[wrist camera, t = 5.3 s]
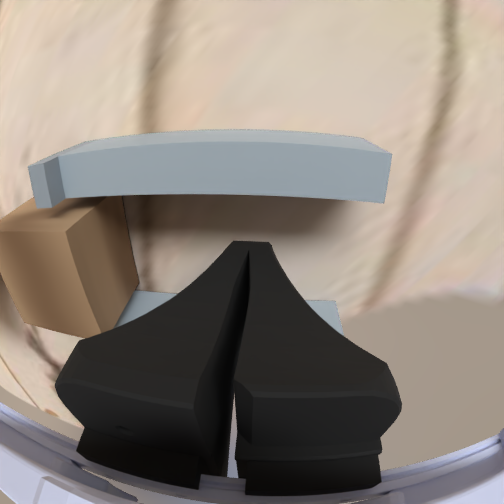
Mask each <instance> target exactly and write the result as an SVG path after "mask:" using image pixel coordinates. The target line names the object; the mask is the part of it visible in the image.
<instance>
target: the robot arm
mask: <svg viewBox="0 0 504 504" xmlns="http://www.w3.org/2000/svg"><path fill="white" fill-rule="evenodd" d="M55 388H56V391H57V394H58V397H59V398H60V399H61V401H62V402H63V404H64V405H65V406H66V407H67V408H68V409H69V411H70V412H71V413H72V414H73V415H74V416H75V417H76V418H77V419H78V420H79V422H80V423H81V424H82V425H83V426H84V427H85V428H84V431H83V434H82V436H81V439H80V441H76V440H74V439H71V438H69V437H67V436H65V435H62V434H60V433H57V432H55V431H53V430H51V429H49V428H47V427H45V426H43V425H41V424H39V423H37V422H35V421H33V420H31V419H29V418H27V417H25V416H24V415H22V414H20V413H18V412H17V411H14V410H13V409H11V408H10V407H8V406H6V405H4V404H3V403H1V402H0V490H2V491H3V492H4V493H5V494H6V495H7V496H8V497H9V498H11V499H12V500H13V501H14V502H15V503H16V504H142V503H138V502H137V501H138V499H137V498H136V497H134V496H132V495H130V494H128V493H126V492H123V491H122V490H120V489H118V488H116V487H114V486H113V485H112V484H110V483H109V482H108V481H106V480H104V479H102V478H100V477H97V476H95V475H93V474H91V473H89V472H87V471H85V470H83V469H86V470H88V471H91V472H93V473H96V474H98V475H102V476H104V477H107V478H109V479H113V480H115V481H118V482H121V483H124V484H128V485H131V486H134V487H138V488H141V489H145V490H149V491H153V492H157V493H161V494H166V495H170V496H174V497H179V498H184V499H190V500H196V501H202V502H210V503H217V504H339V503H347V502H354V501H360V500H364V501H360V502H355V503H351V504H504V428H503V429H502V430H501V431H500V433H499V434H497V435H494V436H492V437H490V438H488V439H485V440H483V441H481V442H478V443H476V444H473V445H471V446H468V447H466V448H463V449H460V450H458V451H455V452H452V453H449V454H446V455H443V456H440V457H436V458H433V459H430V460H426V461H422V462H419V463H415V464H411V465H407V466H403V467H398V468H394V469H389V470H384V471H380V465H379V459H378V455H379V454H380V453H382V445H381V440H380V437H381V436H382V435H383V434H384V433H385V432H386V431H387V429H388V428H389V427H390V426H391V425H392V424H393V423H394V421H395V420H396V419H397V417H398V415H399V414H400V412H401V408H402V402H401V399H400V395H399V392H398V388H397V386H396V383H395V380H394V378H393V376H392V374H391V372H390V370H389V368H388V365H387V363H385V362H384V361H382V360H380V359H379V358H377V357H375V356H374V355H372V354H370V353H368V352H367V351H365V350H363V349H362V348H360V347H358V346H357V345H355V344H354V343H353V342H351V341H350V340H348V339H347V338H345V337H344V336H343V335H342V334H340V333H339V332H338V331H336V330H335V329H334V328H333V327H332V326H330V325H329V324H328V323H327V322H326V321H325V320H324V319H322V318H321V317H320V316H319V315H318V314H317V313H316V312H315V311H314V310H313V309H312V308H311V307H310V306H309V304H308V303H307V302H306V301H305V300H304V299H303V298H302V296H301V295H300V294H299V293H298V291H297V290H296V289H295V287H294V286H293V284H292V283H291V282H290V280H289V279H288V277H287V276H286V274H285V272H284V271H283V269H282V267H281V266H280V264H279V262H278V260H277V258H276V256H275V254H274V251H273V248H272V245H271V244H270V243H269V242H253V241H233V242H232V243H231V244H230V245H229V246H228V247H227V248H226V249H225V251H224V252H223V253H222V254H221V255H220V256H219V257H218V258H217V259H216V260H215V261H214V262H213V263H212V264H211V266H210V267H209V268H208V269H207V270H206V271H205V272H203V273H202V274H201V275H200V276H199V277H198V278H197V279H196V280H195V281H193V282H192V283H191V284H190V285H189V286H188V287H186V288H185V289H184V290H182V291H181V292H180V293H178V294H177V295H175V296H174V297H173V298H171V299H170V300H168V301H166V302H165V303H163V304H161V305H160V306H158V307H156V308H154V309H153V310H151V311H149V312H148V313H146V314H144V315H142V316H140V317H138V318H136V319H134V320H132V321H130V322H128V323H125V324H123V325H121V326H119V327H116V328H114V329H111V330H108V331H106V332H103V333H100V334H97V335H94V336H92V337H89V338H86V339H82V340H79V342H78V343H77V345H76V346H75V348H74V350H73V351H72V353H71V355H70V356H69V358H68V360H67V362H66V364H65V365H64V367H63V369H62V371H61V373H60V374H59V376H58V378H57V380H56V383H55ZM234 393H235V407H236V419H237V440H236V449H235V460H236V462H237V470H238V478H229V477H227V471H228V458H229V445H230V433H231V421H232V410H233V400H234ZM82 468H83V469H82ZM366 499H368V500H366Z"/></svg>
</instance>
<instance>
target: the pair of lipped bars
mask: <svg viewBox="0 0 504 504" xmlns="http://www.w3.org/2000/svg"><path fill="white" fill-rule="evenodd" d="M391 159H392V154H391V153H389V152H388V151H386V150H384V149H382V148H380V147H379V146H377V145H375V144H373V143H371V142H369V141H367V140H365V139H364V138H357V137H350V136H341V135H332V134H321V133H309V132H295V131H277V130H193V131H175V132H161V133H149V134H139V135H130V136H121V137H113V138H106V139H99V140H93V141H87V142H83V143H80V144H78V145H75V146H73V147H70V148H68V149H65V150H63V151H60V152H58V153H56V154H54V155H51V156H49V157H47V158H45V159H42V160H40V161H38V162H36V163H34V164H32V165H30V166H28V170H29V175H30V180H31V185H32V190H33V194H34V199H35V203H36V207H37V209H39V208H53V207H54V206H55V205H57V204H58V203H60V202H61V201H63V200H64V199H65V198H78V197H96V196H118V195H151V194H232V195H267V196H290V197H308V198H324V199H338V200H351V201H363V202H374V203H384V201H385V196H386V190H387V185H388V178H389V172H390V166H391ZM175 295H177V294H171V293H159V292H147V291H136V290H135V291H134V292H133V294H132V296H131V298H130V299H129V301H128V303H127V305H126V306H125V308H124V310H123V312H122V313H121V315H120V317H119V319H118V321H117V323H116V324H115V326H114V328H116V327H119V326H121V325H123V324H125V323H128V322H130V321H132V320H134V319H136V318H138V317H140V316H142V315H144V314H146V313H148V312H149V311H151V310H153V309H154V308H156V307H158V306H160V305H161V304H163V303H165V302H166V301H168V300H170V299H171V298H173V297H174V296H175ZM305 301H306V302H307V303H308V304H309V306H310V307H311V308H312V309H313V310H314V311H315V312H316V313H317V314H318V315H319V316H320V317H321V318H322V319H324V320H325V321H326V322H327V323H328V324H329V325H330V326H332V327H333V328H334V329H335V330H336V331H338V332H339V333H340V334H342V335H343V336H344V334H343V330H342V325H341V321H340V317H339V313H338V309H337V305H336V301H308V300H305ZM114 328H113V329H114ZM85 339H86V338H85Z"/></svg>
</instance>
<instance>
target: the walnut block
mask: <svg viewBox="0 0 504 504" xmlns="http://www.w3.org/2000/svg"><path fill="white" fill-rule="evenodd" d="M0 273H1V276H2V278H3V280H4V282H5V285H6V287H7V289H8V291H9V293H10V295H11V297H12V299H13V302H14V304H15V306H16V307H17V309H18V311H19V313H20V315H21V317H22V319H23V321H24V323H27V324H31V325H34V326H38V327H41V328H45V329H49V330H53V331H57V332H61V333H65V334H69V335H73V336H77V337H82V338H89V337H92V336H94V335H97V334H100V333H103V332H106V331H108V330H111V329H113V328H114V326H115V324H116V323H117V321H118V319H119V317H120V315H121V313H122V312H123V310H124V308H125V306H126V305H127V303H128V301H129V299H130V298H131V296H132V294H133V292H134V291H135V289H136V287H137V285H138V284H139V280H138V276H137V271H136V267H135V263H134V258H133V254H132V249H131V244H130V240H129V235H128V229H127V224H126V219H125V213H124V207H123V201H122V195H118V196H96V197H78V198H65V199H64V200H63V201H61V202H60V203H58V204H57V205H55V206H54V207H53V208H39V209H37V207H36V203H35V199H34V197H33V198H31V199H30V200H28V201H27V202H25V203H24V204H22V205H21V206H19V207H18V208H16V209H15V210H14V211H12V212H11V213H9V214H8V215H6V216H5V217H4V218H2V219H1V220H0Z"/></svg>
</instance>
